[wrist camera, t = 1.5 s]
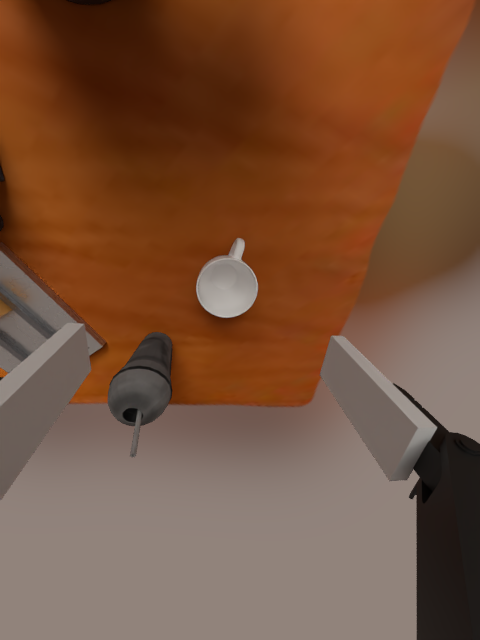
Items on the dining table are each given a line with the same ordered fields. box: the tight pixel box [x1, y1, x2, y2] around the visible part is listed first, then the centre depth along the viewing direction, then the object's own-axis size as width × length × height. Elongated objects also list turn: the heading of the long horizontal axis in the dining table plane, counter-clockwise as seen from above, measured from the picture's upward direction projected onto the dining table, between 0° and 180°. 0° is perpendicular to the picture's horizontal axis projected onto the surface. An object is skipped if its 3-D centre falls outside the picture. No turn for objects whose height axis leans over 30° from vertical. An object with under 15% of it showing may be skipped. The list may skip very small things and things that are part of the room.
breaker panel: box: [0, 242, 106, 373], centre depth 36 cm, size 18×14×3 cm
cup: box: [196, 238, 258, 318], centre depth 34 cm, size 8×10×7 cm
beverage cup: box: [108, 332, 172, 457], centre depth 32 cm, size 7×7×20 cm
